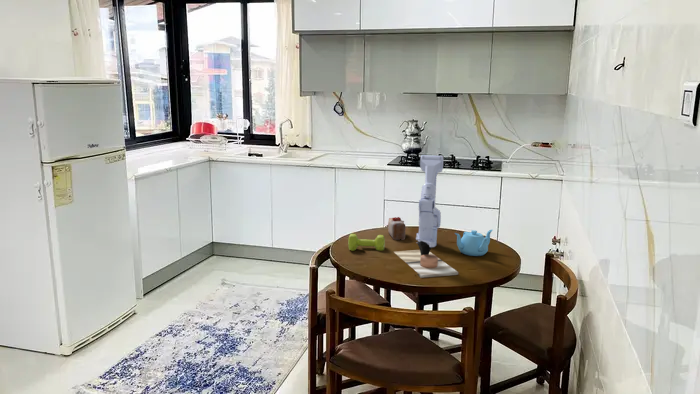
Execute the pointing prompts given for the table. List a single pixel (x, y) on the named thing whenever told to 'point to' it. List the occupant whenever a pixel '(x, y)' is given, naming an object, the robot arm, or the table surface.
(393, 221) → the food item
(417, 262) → the board
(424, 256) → the puck
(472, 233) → the teapot
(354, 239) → the dumbbell
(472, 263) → the table surface
